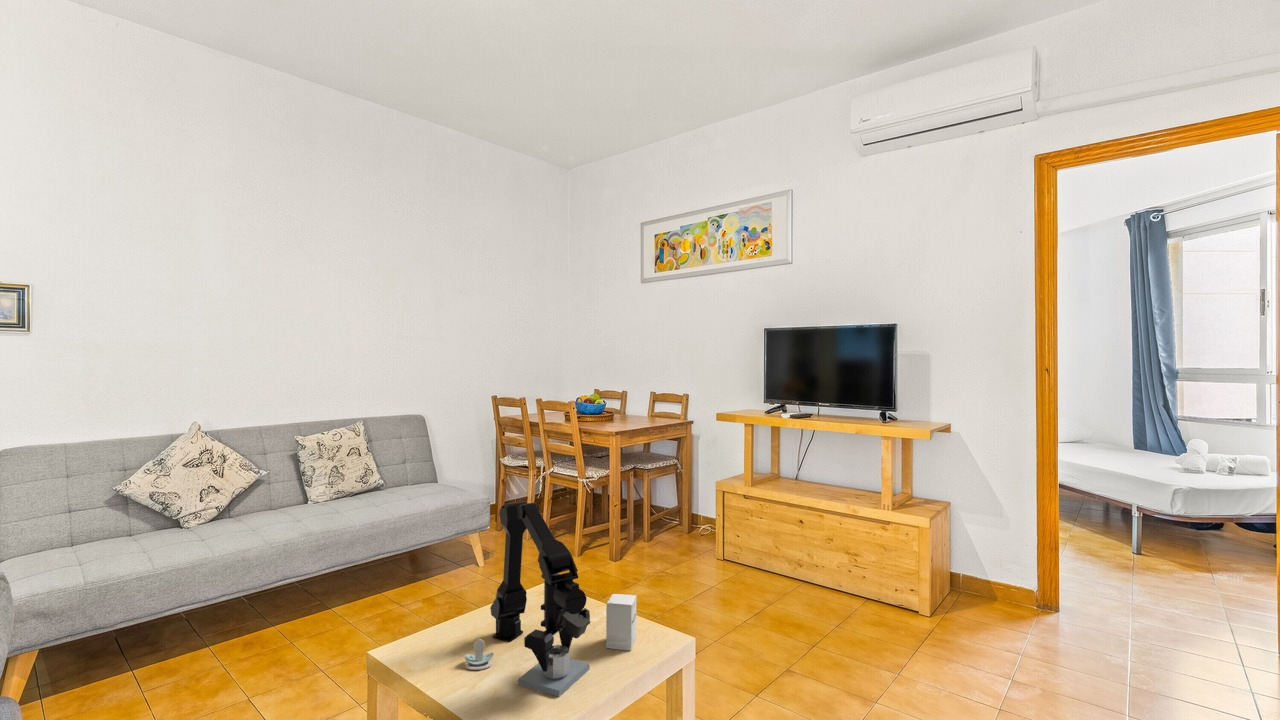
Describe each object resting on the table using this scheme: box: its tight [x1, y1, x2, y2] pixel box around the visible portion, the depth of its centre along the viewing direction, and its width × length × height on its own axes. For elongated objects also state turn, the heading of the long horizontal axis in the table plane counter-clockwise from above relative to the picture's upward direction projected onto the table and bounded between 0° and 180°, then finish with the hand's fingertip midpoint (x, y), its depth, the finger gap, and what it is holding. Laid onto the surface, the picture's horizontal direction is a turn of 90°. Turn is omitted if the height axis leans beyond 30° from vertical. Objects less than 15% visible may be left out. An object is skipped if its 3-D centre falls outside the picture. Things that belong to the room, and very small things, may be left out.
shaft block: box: [517, 657, 590, 698], centre depth 149 cm, size 12×14×4 cm
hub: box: [542, 644, 570, 679], centre depth 148 cm, size 6×6×5 cm
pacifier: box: [464, 638, 494, 671], centre depth 155 cm, size 7×6×6 cm
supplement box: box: [605, 593, 637, 651], centre depth 167 cm, size 7×7×13 cm
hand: (555, 662), depth 148 cm, fingers open, 9 cm apart
